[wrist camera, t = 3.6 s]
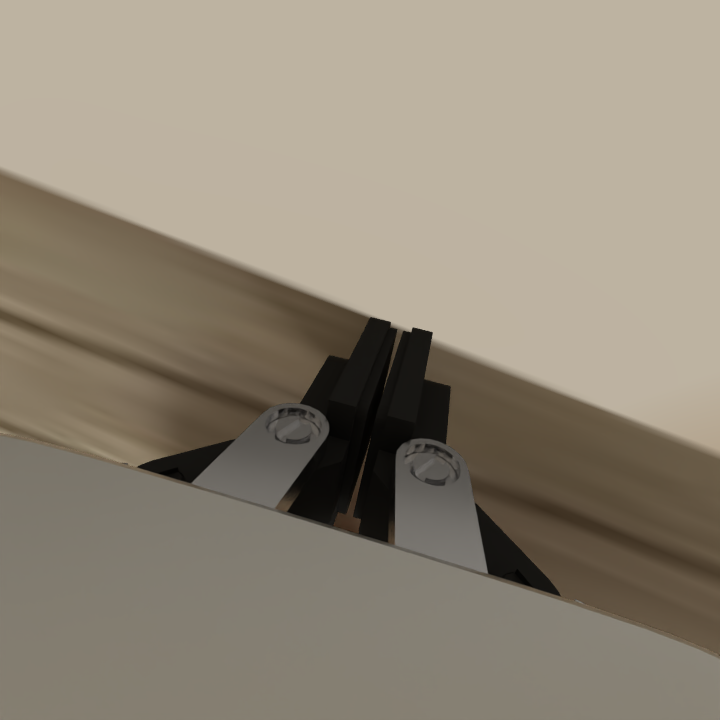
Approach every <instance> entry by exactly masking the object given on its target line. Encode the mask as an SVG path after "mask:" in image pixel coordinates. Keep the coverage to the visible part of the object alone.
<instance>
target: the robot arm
mask: <svg viewBox="0 0 720 720" xmlns="http://www.w3.org/2000/svg"><path fill="white" fill-rule="evenodd" d="M390 325H391V322H389V321H385V320H380V319H376V318H372V317H371V318H370V320H369V321H368V323H367V325H366V327H365V329H364V331H363V333H362V335H361V337H360V339H359V341H358V343H357V345H356V347H355V349H354V351H353V353H352V355H351V357H350V359H349V360H347V359H343V358H339V357H335V356H331V355H330V356H329V357H328V358H327V360H326V361H325V363H324V365H323V366H322V368H321V370H320V371H319V373H318V375H317V376H316V378H315V380H314V381H313V383H312V385H311V386H310V388H309V390H308V391H307V393H306V395H305V396H304V398H303V399H302V401H301V403H300V404H296V403H286V404H279V405H276V406H274V407H271V408H269V409H268V410H266V411H265V412H263V413H262V414H261V415H260V416H259V417H258V418H257V419H256V420H255V421H254V422H253V423H252V424H251V425H250V426H249V427H248V428H247V429H246V430H245V431H244V432H243V433H242V434H241V435H240V436H239V437H238V438H237V439H234V440H230V441H226V442H222V443H218V444H214V445H211V446H207V447H203V448H199V449H195V450H191V451H187V452H184V453H180V454H176V455H172V456H168V457H164V458H161V459H157V460H153V461H150V462H147V463H145V464H142V465H140V466H138V467H133V466H130V465H128V463H119V462H116V461H113V460H109V459H106V458H102V457H99V456H95V455H92V454H88V453H85V452H81V451H77V450H73V449H69V448H65V447H61V446H57V445H53V444H49V443H46V442H42V441H38V440H34V439H30V438H25V437H20V436H14V435H9V434H3V433H0V720H720V655H718V654H716V653H714V652H712V651H710V650H708V649H706V648H703V647H701V646H699V645H696V644H694V643H691V642H689V641H687V640H684V639H682V638H679V637H677V636H675V635H672V634H670V633H667V632H664V631H662V630H659V629H656V628H653V627H650V626H647V625H644V624H641V623H638V622H636V621H633V620H630V619H627V618H624V617H621V616H618V615H615V614H612V613H610V612H607V611H604V610H601V609H598V608H595V607H592V606H589V605H586V604H584V603H582V602H580V601H578V600H576V599H575V600H574V601H573V600H569V599H566V598H563V597H561V596H560V594H559V592H558V590H557V589H556V588H555V587H554V585H553V584H552V583H551V581H550V580H549V579H548V578H547V577H546V576H545V575H544V574H543V573H542V572H541V571H540V570H539V569H538V568H537V566H536V565H535V564H534V563H533V562H532V561H531V560H530V559H529V558H528V557H527V556H526V555H525V554H524V553H523V552H522V551H521V550H520V549H519V548H518V547H517V546H516V545H515V544H514V542H513V541H512V540H511V539H510V538H509V537H508V536H507V535H506V534H505V533H504V532H503V531H502V530H501V529H500V528H499V527H498V526H497V525H496V524H495V523H494V522H493V521H492V520H491V518H490V517H489V516H488V515H487V514H486V513H485V512H484V511H483V510H482V509H481V508H480V507H479V506H478V505H477V504H476V503H475V502H474V497H473V491H472V486H471V481H470V475H469V470H468V467H467V465H466V462H465V461H464V459H463V458H462V457H461V456H460V454H459V453H457V452H456V451H455V450H454V449H452V448H451V447H449V446H447V445H446V437H447V425H448V414H449V402H450V391H451V387H450V386H448V385H444V384H440V383H436V382H432V381H428V380H424V376H425V371H426V366H427V361H428V355H429V350H430V345H431V339H432V334H433V333H432V332H429V331H425V330H421V329H417V328H412V332H407V331H403V334H402V337H401V340H400V343H399V346H398V349H397V352H396V355H395V358H394V361H393V364H392V367H391V370H390V373H389V377H388V380H387V383H386V386H385V382H386V377H387V373H388V369H389V364H390V360H391V355H392V351H393V347H394V342H395V338H396V333H397V329H395V328H390ZM384 386H385V389H384ZM383 390H384V392H383ZM370 439H371V440H370ZM369 442H370V444H369ZM368 445H369V448H368ZM367 448H368V453H367V457H366V462H365V466H364V471H363V475H362V479H361V484H360V488H359V493H358V497H357V502H356V506H355V510H354V515H353V517H356V518H359V519H361V523H360V527H359V534H357V533H353V532H350V531H347V530H344V529H340V528H337V527H334V526H333V525H334V522H335V519H336V516H337V513H338V512H339V513H343V514H346V513H347V510H348V507H349V504H350V501H351V498H352V495H353V492H354V489H355V485H356V482H357V479H358V476H359V473H360V470H361V467H362V464H363V460H364V457H365V454H366V451H367ZM330 525H331V526H330Z"/></svg>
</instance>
